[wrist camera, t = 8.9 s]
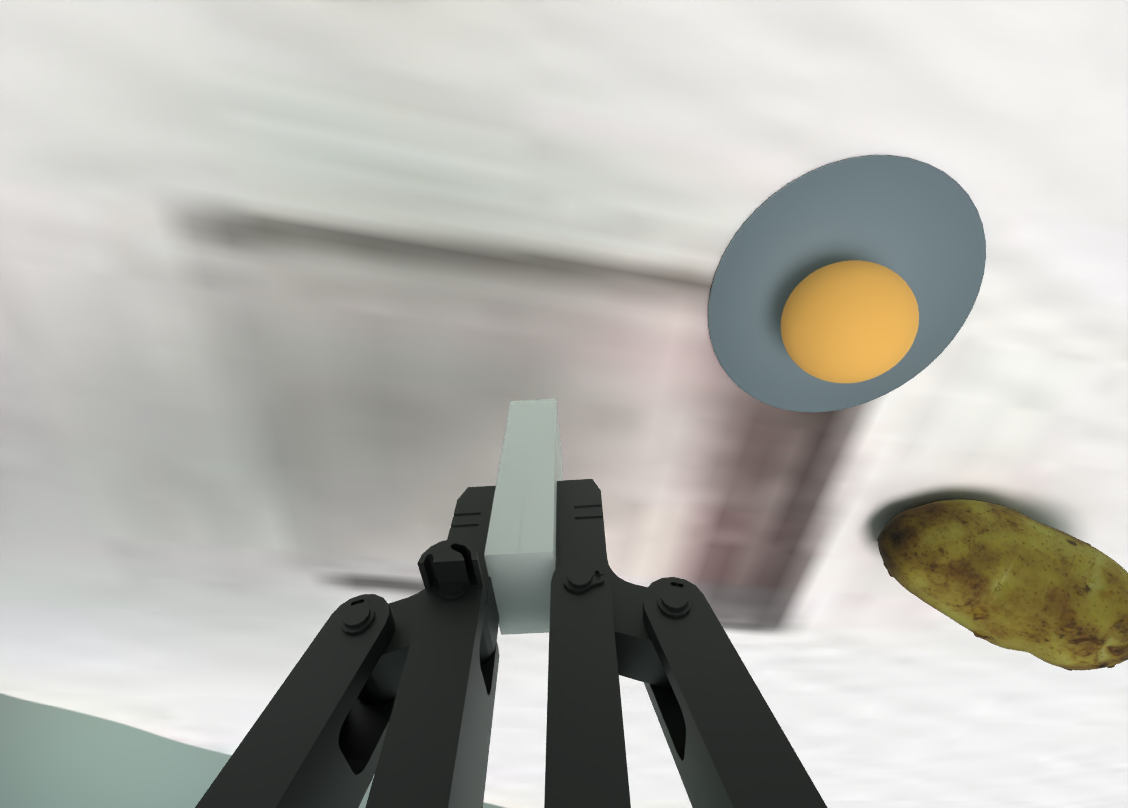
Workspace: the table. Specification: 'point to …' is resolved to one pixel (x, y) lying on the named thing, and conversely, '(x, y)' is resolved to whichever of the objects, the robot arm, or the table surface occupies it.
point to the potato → (1012, 581)
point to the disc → (834, 234)
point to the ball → (849, 321)
